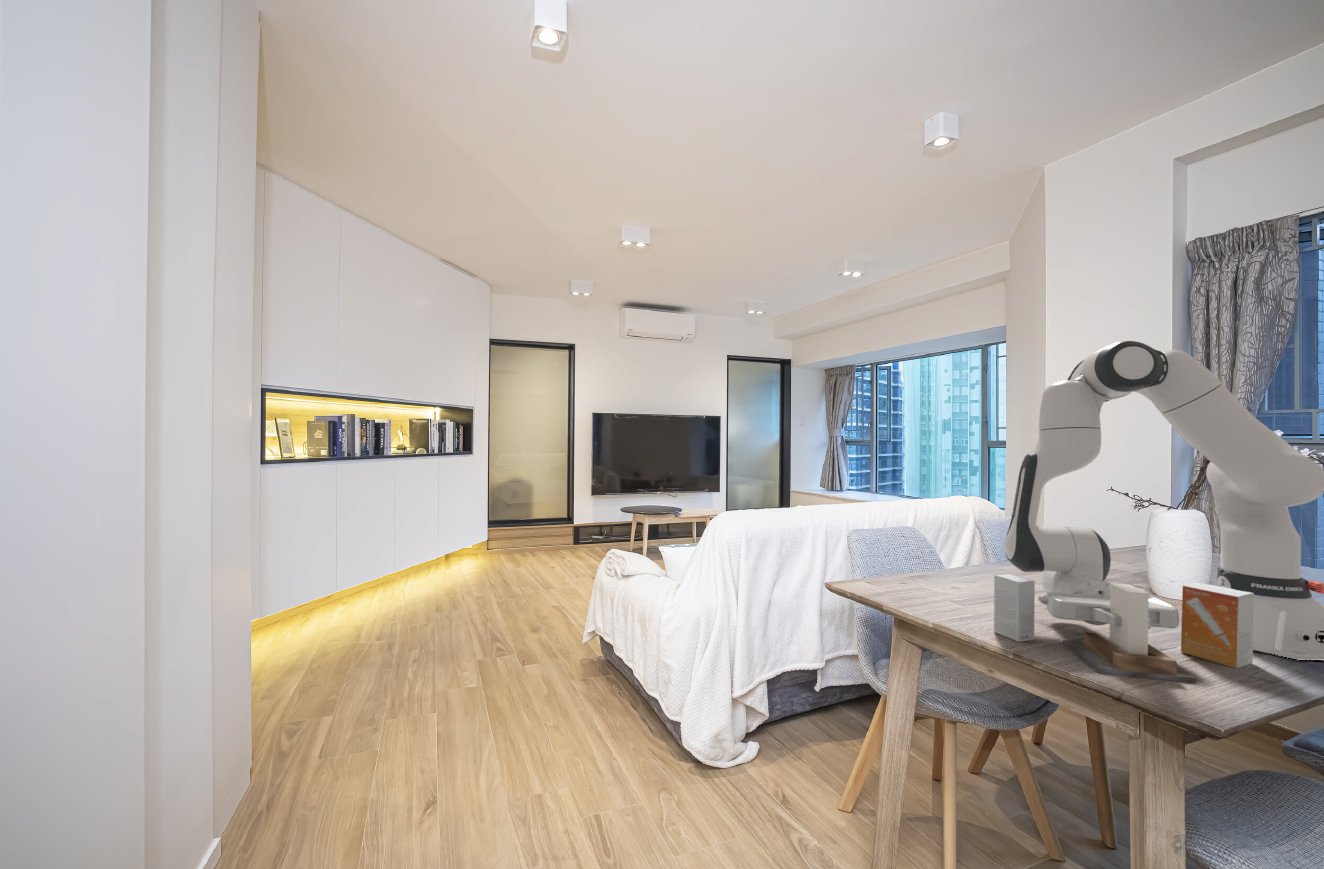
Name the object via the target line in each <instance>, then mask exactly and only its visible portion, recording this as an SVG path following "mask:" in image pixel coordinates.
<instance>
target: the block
mask: <svg viewBox="0 0 1324 869" xmlns="http://www.w3.org/2000/svg"><path fill="white" fill-rule="evenodd" d="M1109 583H1110V613H1111V614H1117V615H1118V616H1120V617H1121V626H1111V625H1109V642H1110V643H1111V644H1113V645H1114V646H1116V647H1117V648H1119V649H1120V650H1122V651H1123V652H1125V653H1126V654H1137V655H1147V656H1148V644H1149V629H1148V605H1149V596H1150V595H1149V594H1150V593H1149V592H1147V591H1146V590H1145V591H1146V592H1145V591H1142V590H1143V589H1142V590H1140V589H1141V588H1139V589H1138V587H1136V586H1133V585H1132V584H1128V583H1127V584H1126V583H1111V582H1109Z"/></svg>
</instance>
